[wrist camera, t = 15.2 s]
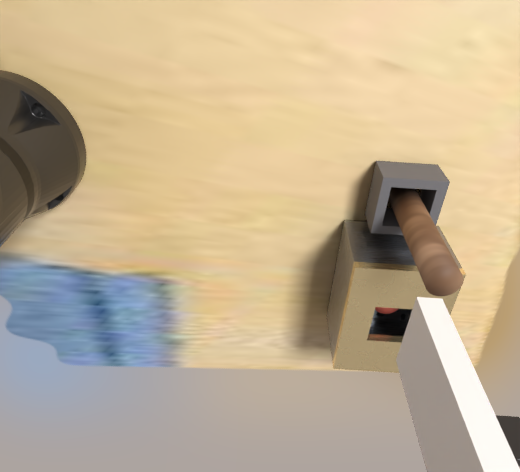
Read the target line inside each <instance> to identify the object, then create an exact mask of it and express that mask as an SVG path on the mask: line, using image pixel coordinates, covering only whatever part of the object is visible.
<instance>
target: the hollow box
mask: <svg viewBox="0 0 520 472" xmlns="http://www.w3.org/2000/svg"><path fill="white" fill-rule="evenodd" d="M436 227H437V229H438V231H439V233H440V235H441V237H442V238H443V240H444V242H445V244H446V246H447V248H448V249H449V251H450V253H451V255H452V257H453V258H454V260H455V262H456V264H457V266H458V268H459V269H460V271H461V273H462V275H463V281H464V278H465V275H466V274H465V272H464V271H463V269H462V267H461V265H460V263H459V262H458V260H457V258H456V256H455V254H454V253H453V251H452V249H451V247H450V245H449V244H448V242H447V240H446V238H445V236H444V235H443V233H442V231H441V229H440V227H439V226H436ZM460 288H461V287H460ZM460 288H459V289H458V290H457V291H456V292H455V293H453V294H451V295H447V296H434V295H432V294H430V293H429V292H428V291H427V290H426V288H425V285H424V283H423V281H422V278H421V276H420V273H419V271H418V269H417V266H416V264H415V262H414V259H413V257H412V254H411V252H410V250H409V247H408V245H407V243H406V240H405V238H404V235H393V234H377V233H371V232H370V229H369V226H368V223H367V222H364V221H348V220H344V224H343V230H342V235H341V241H340V246H339V251H338V257H337V262H336V267H335V273H334V278H333V284H332V289H331V294H330V300H329V305H328V311H327V322H328V330H329V337H330V345H331V353H332V361H333V369H348V370H363V371H379V372H395V373H399V369H398V366H397V362H396V358H397V355H398V352H399V349H400V346H401V343H402V340H403V337H404V334H405V331H406V328H407V325H408V322H409V318H410V315H411V312H412V309H413V306H414V303H415V300H416V297H425V298H440V299H443V301H444V303H445V306H446V308H447V310H448V312H449V314H451V311H452V309H453V306H454V304H455V301H456V298H457V296H458V293H459V291H460ZM375 307H384V308H399V309H398V310H397V311H395V312H393V313H389V314H382V313H379V312H377V311H376V310H375Z"/></svg>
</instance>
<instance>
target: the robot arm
mask: <svg viewBox="0 0 520 472" xmlns="http://www.w3.org/2000/svg"><path fill="white" fill-rule="evenodd" d="M85 166H86V149H85V144H84V140H83V137H82V134H81V131H80V129H79V127H78V125H77V123H76V121H75V120H74V118H73V116H72V115H71V114H70V112H69V111H68V110H67V108H66V107H65V106H64V105H63V104H62V103H61V102H60V101H59V100H58V99H57V98H56V97H55V96H54V95H53V94H52V93H50V92H49V91H48V90H47V89H45V88H44V87H42V86H41V85H39V84H38V83H36V82H34V81H32V80H30V79H28V78H26V77H23V76H21V75H18V74H15V73H11V72H7V71H1V70H0V247H1V245H2V244H3V243H4V242H5V241H6V240H7V239H8V238H9V236H10V235H11V234H12V233H13V232H14V231H15V230H16V229H17V228H18V226H19V225H20V224H21V223H22V222H23V221H24V220H25V219H27V218H29V217H32V216H34V215H37V214H39V213H42V212H44V211H47V210H49V209H52V208H54V207H56V206H57V205H59V204H60V203H62V202H63V201H64V200H65V199H66V198H67V197H68V196H69V195H70V194H71V193H72V192H73V190H74V189H75V188H76V187H77V185H78V184H79V183H80V181H81V179H82V177H83V174H84V171H85ZM396 362H397V366H398V369H399V373H400V376H401V380H402V384H403V387H404V390H405V394H406V398H407V402H408V405H409V409H410V412H411V416H412V420H413V423H414V427H415V430H416V434H417V437H418V441H419V445H420V448H421V451H422V455H423V459H424V463H425V466H426V470H427V472H520V418H519V417H511V416H496V415H495V413H494V411H493V409H492V407H491V405H490V402H489V400H488V398H487V396H486V394H485V391H484V390H483V387H482V385H481V383H480V380H479V378H478V376H477V374H476V372H475V369H474V367H473V365H472V363H471V361H470V358H469V356H468V354H467V352H466V350H465V347H464V345H463V343H462V341H461V339H460V336H459V334H458V332H457V330H456V328H455V325H454V323H453V321H452V319H451V317H450V314H449V312H448V310H447V308H446V306H445V303H444V301H443V299H440V298H425V297H416V300H415V303H414V306H413V309H412V312H411V315H410V318H409V322H408V325H407V328H406V331H405V334H404V337H403V340H402V343H401V346H400V349H399V352H398V355H397V358H396Z"/></svg>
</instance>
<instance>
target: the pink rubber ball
mask: <svg viewBox="0 0 520 472" xmlns="http://www.w3.org/2000/svg"><path fill="white" fill-rule="evenodd" d="M398 309H399V308H384V307H375V310H376V311H377V312H379V313H382V314H389V313H393V312H395V311H397V310H398Z"/></svg>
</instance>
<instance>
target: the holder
mask: <svg viewBox="0 0 520 472" xmlns="http://www.w3.org/2000/svg"><path fill="white" fill-rule="evenodd" d="M449 183H450V181H449V180H448V179H447V177H446V176H445V174H444V173H443V172H442V170H441V169H440V167H439V166H438V165H432V164H416V163H401V162H385V161H376V164H375V168H374V173H373V178H372V182H371V187H370V192H369V197H368V201H367V206H366V211H365V216H366V220H367V223H368V226H369V229H370V232H371V233H377V234H393V235H403V233H402V231H401V228H400V226H399V224H398V221H397V219H396V216H395V214H394V212H393V209H392V208H386V207H387V203H388V199H389V195H390V190H391V187H396V188H412V189H421V192H420V198H421V200H422V202H423V204H424V205H425V207H426V209H427V211H428V213H429V215H430V216H431V218H432V220H433V222H434V224H435V226H436V223H437V220H438V217H439V214H440V211H441V208H442V204H443V201H444V198H445V195H446V192H447V189H448V186H449Z"/></svg>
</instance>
